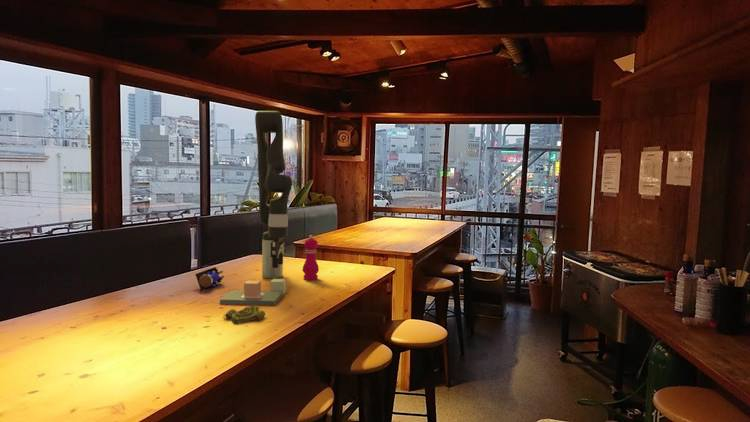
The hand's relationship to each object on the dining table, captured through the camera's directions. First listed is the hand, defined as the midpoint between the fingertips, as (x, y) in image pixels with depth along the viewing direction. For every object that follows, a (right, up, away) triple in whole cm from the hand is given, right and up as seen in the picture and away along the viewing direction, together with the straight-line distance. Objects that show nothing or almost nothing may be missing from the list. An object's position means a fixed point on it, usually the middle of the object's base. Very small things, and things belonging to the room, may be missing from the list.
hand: (277, 265), depth 195 cm
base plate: (-7, -12, -11) cm, 17 cm away
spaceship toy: (-4, -14, -31) cm, 34 cm away
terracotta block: (-7, -10, -11) cm, 16 cm away
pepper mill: (+10, -9, +27) cm, 30 cm away
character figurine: (-29, -10, +8) cm, 32 cm away
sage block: (0, -11, +1) cm, 11 cm away
